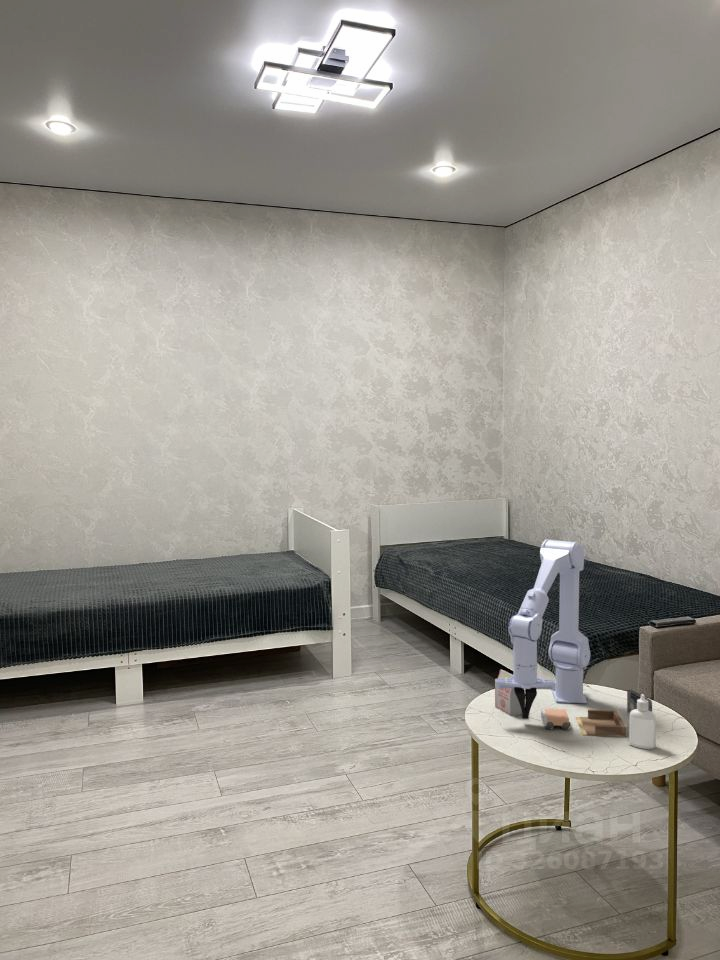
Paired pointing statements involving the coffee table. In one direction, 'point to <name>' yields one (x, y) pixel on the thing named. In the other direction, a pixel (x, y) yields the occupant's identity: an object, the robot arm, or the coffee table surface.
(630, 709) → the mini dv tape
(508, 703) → the gable top carton
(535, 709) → the coffee table surface
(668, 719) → the coffee table surface
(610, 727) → the tray
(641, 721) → the eye dropper bottle
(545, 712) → the trolley
